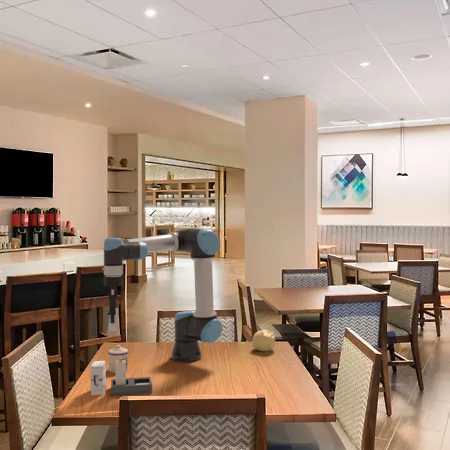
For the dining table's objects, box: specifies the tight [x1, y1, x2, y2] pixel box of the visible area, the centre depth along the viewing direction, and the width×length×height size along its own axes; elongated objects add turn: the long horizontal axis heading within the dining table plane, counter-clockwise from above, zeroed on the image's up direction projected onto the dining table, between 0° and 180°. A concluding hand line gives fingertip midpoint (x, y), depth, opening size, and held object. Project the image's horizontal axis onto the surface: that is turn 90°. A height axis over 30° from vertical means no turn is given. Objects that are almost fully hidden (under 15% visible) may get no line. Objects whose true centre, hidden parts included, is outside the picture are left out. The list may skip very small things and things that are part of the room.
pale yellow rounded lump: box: [252, 329, 276, 352], centre depth 278 cm, size 12×12×11 cm
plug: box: [115, 357, 127, 385], centre depth 213 cm, size 4×4×14 cm
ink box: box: [90, 360, 107, 396], centre depth 213 cm, size 9×5×12 cm, turn 5°
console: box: [110, 376, 153, 397], centre depth 214 cm, size 16×10×4 cm, turn 102°
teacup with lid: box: [107, 344, 129, 374], centre depth 244 cm, size 12×9×12 cm
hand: (112, 327), depth 217 cm, fingers open, 13 cm apart
